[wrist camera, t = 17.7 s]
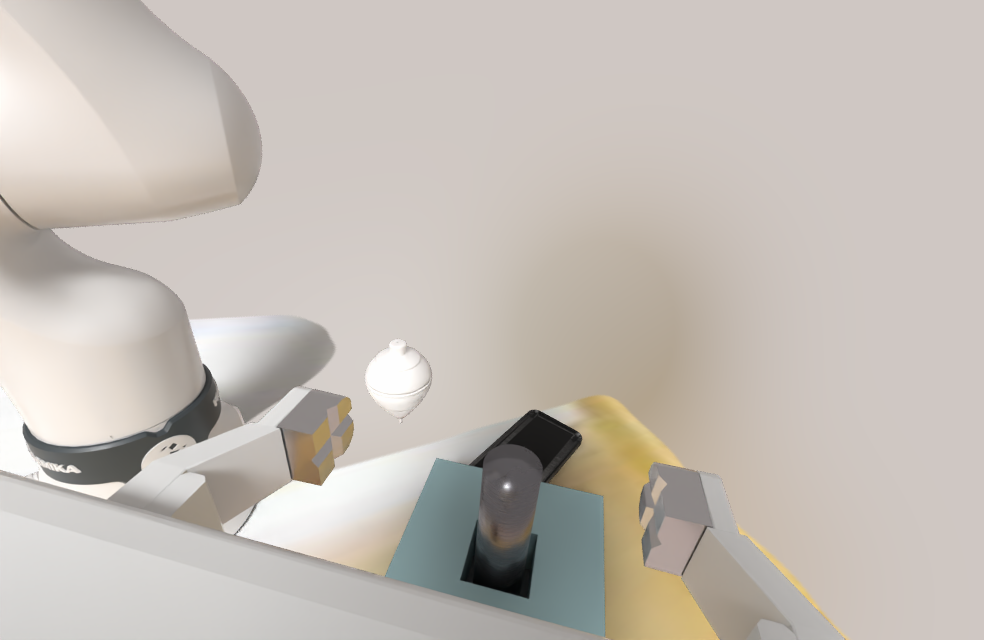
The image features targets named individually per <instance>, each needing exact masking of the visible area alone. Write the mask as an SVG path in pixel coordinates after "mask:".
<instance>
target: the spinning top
mask: <svg viewBox="0 0 984 640" xmlns="http://www.w3.org/2000/svg"><path fill="white" fill-rule="evenodd" d="M406 344H407V343H406V341H405V340H402V339H394V340H392V341H391V342H390V343H389V348H385V349H383V350H382V351H380V352H379V353H378V354H377V355H376V356H375V357H374V358H373V359H372V361H371V362H370V363H369V365H368V367H367V370H366V374H365V383H366V387H367V390H368V392H369V394H370V395H371V397H372V398H373V399H374V400H375V401H376V403H377V404H378V405H379V406H380V407H382V408H383V409H384V410H385V411H387V412H388V413H389V414H391V415H392V416H394V417H396V418H398V419H399V423H402V418H404V417H405V416H407V415H408V414H409V413H410V412H411V411H413V410H414V408H416V407H417V406H418V405H419V403H420V402H421V401H422V400H423V398H424V396H425V395H426V393H427V392H428V390H429V388H430V385H431V380H432V372H431V368H430V365H429V363H428V361H427V360H426V359H425V358H424V356H422V355H421V354H420V353H419V352H418V351H417V350H415V349H413V348H411V347H407V346H406Z"/></svg>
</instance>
